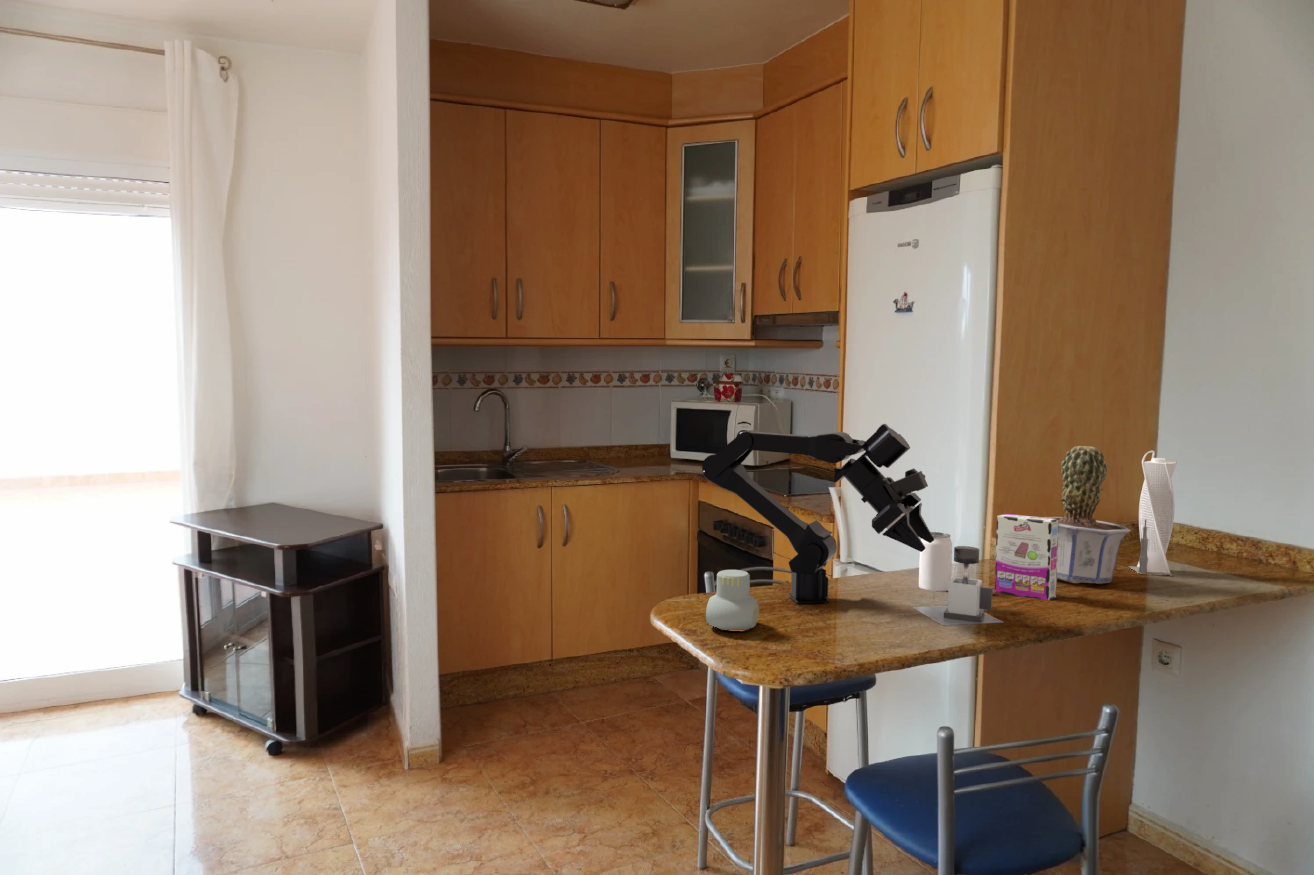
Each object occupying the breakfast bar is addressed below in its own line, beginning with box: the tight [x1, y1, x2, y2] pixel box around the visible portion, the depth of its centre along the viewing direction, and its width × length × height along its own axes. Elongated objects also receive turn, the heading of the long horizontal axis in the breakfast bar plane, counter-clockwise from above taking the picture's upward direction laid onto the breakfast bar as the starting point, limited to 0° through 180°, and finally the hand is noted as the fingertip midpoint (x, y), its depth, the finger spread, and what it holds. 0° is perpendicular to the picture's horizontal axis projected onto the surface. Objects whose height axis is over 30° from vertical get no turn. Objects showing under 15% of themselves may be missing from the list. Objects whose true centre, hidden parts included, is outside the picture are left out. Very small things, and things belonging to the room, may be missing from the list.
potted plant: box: [1043, 445, 1132, 585], centre depth 195 cm, size 18×18×30 cm
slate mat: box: [911, 605, 1005, 626], centre depth 165 cm, size 12×12×1 cm
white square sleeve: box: [944, 576, 994, 622], centre depth 163 cm, size 8×6×6 cm
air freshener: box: [705, 569, 760, 630], centre depth 158 cm, size 11×8×10 cm
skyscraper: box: [1128, 449, 1178, 576], centre depth 203 cm, size 8×8×28 cm
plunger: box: [953, 545, 980, 584], centre depth 163 cm, size 4×4×8 cm
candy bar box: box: [994, 513, 1059, 601], centre depth 182 cm, size 11×5×16 cm, turn 47°
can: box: [918, 531, 953, 592], centre depth 185 cm, size 6×6×12 cm
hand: (928, 545), depth 166 cm, fingers open, 9 cm apart
